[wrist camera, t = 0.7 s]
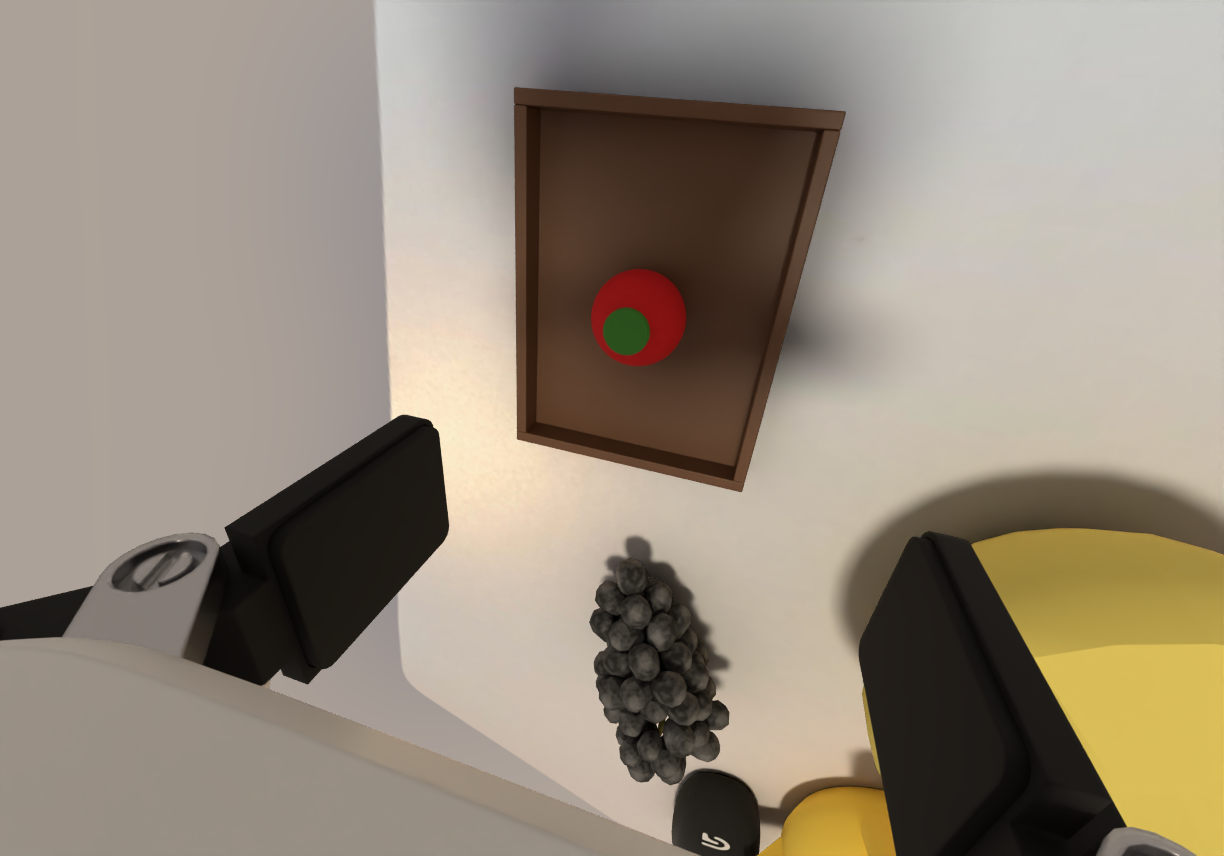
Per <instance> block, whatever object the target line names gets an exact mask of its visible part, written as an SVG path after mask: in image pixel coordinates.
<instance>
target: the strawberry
mask: <svg viewBox="0 0 1224 856" xmlns="http://www.w3.org/2000/svg"><path fill="white" fill-rule="evenodd" d="M591 324H592V330H593V334H594V336H595V339H596V341H597V343H598V344H599V346H600V347H601V348H602V350H603V351H604V352H605V353H606V354H607V355H608V356H610V357H611V358H612V359H614V360H616V361H618V362H620V363H622V364H625V365H629V366H647V365H651V364H654V363H656V362H659V361H660V360H662V359H664V358H665V357H667V356H668V355H669V354H670V353H671V352H672V351H673V350H674V349H675V348H676V346H677V345H678V344H679V342H680V340H681V338H682V336H683V333H684V330H685V325H686V309H685V304H684V301H683V298H682V296H681V294H680V292H679V291H678V289H677V288H676V286H675V285H674V284H673V283H672V282H671V281H670V280H669V279H667V278H666V277H665V276H663V275H661V274H659V273H657V272H654V271H651V270H646V269H632V270H627V271H624V272H622V273H619V274H617V275H615V276H614V277H612V278H611V279H609V280H608V281H607V282H606V283H605V284H604V285H603V287H602V288H601V289H600V290H599V292H598V294H597V296H596V298H595V300H594V303H593V307H592V312H591Z"/></svg>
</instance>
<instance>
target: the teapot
mask: <svg viewBox="0 0 1224 856" xmlns="http://www.w3.org/2000/svg"><path fill="white" fill-rule="evenodd" d="M757 856H896V852H895V847H894V842H893V836H892V831H891V826H890V820H889V815H888V810H887V804H886V799H885V794H884V791H883V790H878V789H873V788H865V787H834V788H828V789H823V790H820V791H817V792H815V793H813V794H811V795H809V796H808V797H806V798H805V799H804V800H803V801H802V802H801V803H799V805H798V806H797V807H796V808H795V809H794V810H793V811H792V812H791V813H790V815H789V816H788V817H787V819H786V821H785V823H784V826H783V829H782V833H781V837H780V838H779V839H777V840H776V841H775V842H774V843H772V844H771V845H770V846H769V847H767V848H766V849H765V850H764V851H762V852H761V853H760V854H759V855H757Z"/></svg>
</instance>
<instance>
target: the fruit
mask: <svg viewBox="0 0 1224 856" xmlns="http://www.w3.org/2000/svg"><path fill="white" fill-rule="evenodd" d="M616 578H617V583H615V582H613V581H605V582H603V583H602V584H601V585H600V586H599V588H598V589H597V591H596V598H595V601H596V603H597V604H598V606H599V607H600V608H599V609H596V610H594V611H593V614H592V616H591V619H590V621H589V623H590V625H591V628H592V630H593V632H594V633H595V634H597V635H598V636H599V637H600V638H601V639H602V640H603V641H604V642H606V643H607V646H608V647H607V648H606V649H605V651H601V652H599V653H598V655H597V656H596V658H595V660H594V670H595V673H596V674H597V675H598V678H597V680H596V687H597V689H598V691H599V699H600V701H601V702H602V704H603V705H604V706H605V707H604V709H603V710H604V715H605V717H606V718H607V719H608V721H609V722H610V723H615V724H616V723H618V722H619V726H618V727H617V731H616V738H617V740H618V743H619V744H620V745H621V746H620V748H619V750H620V759H621V760H622V762H623V763H624V765H627V767H628V770H629V773H630V775H631V777H632V778H633V779H635V780H636V781H638V782H648V781H649V780H650V779H651V778H652V777H653V776H654V774H655V773H656V774H657V776H659V777H660V778H661V779H662V781H663V782H665V783H667V784H669V785H673V784H676V783H679V782H680V781H681V780H682V778H683V777H684V773H685V768H686V756H689V755H690V754H691V755H692V756H694V757H695V758H697V759H699V760H702V761H706V762H710V761H712V760H714V759H716V757H717V756H718V754H719V752H720V744H719V741H718V738H717V737H716V735H715V734H714V733H713V732H711V731H709V730H722V729H723V728H725V727H726V726H727V725H728V724H729V711H728V709H727V707H726V706H725V705H724V704H722V703H721V702H720V701H719V700H716V701H712V699H713V697H714V696H715V695H716V685H715V683H714V681H713V679H712V678H711V677H710V676H709V675H708V670H707V669H706V667H705V666H706V665H707V663H708V661H709V658H708V651H707V649H706V648H705V646H703V645H702V644H700V643H698V642H697V636H696V634H695V632H694V631H693V630H692V629H691V628H689V627H688V626H689V625H690V623H691V622H692V618H691V614H690V612H689V611H688V609H687V608H686V606H685V605H683V604H681V603H671V602H672V595H673V593H672V591H671V590H670V589H669V587H668V586H667V584H665V583H662V582H660V581H659V580H658V579H656V578H648V573H647V571H646V569H645V568H644V567H643V565H642V564H641V563H640V561H637V560H635V559H632V558H630V559H628V560H625V561H622V562H620V564H619V566H618V568H617V570H616ZM667 715H668V717H669V718H668V719H667V720H666V721H665V719H666V718H667ZM657 723H659V725H658V728H657V725H656V724H657ZM662 733H663V736H661V735H662Z"/></svg>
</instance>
